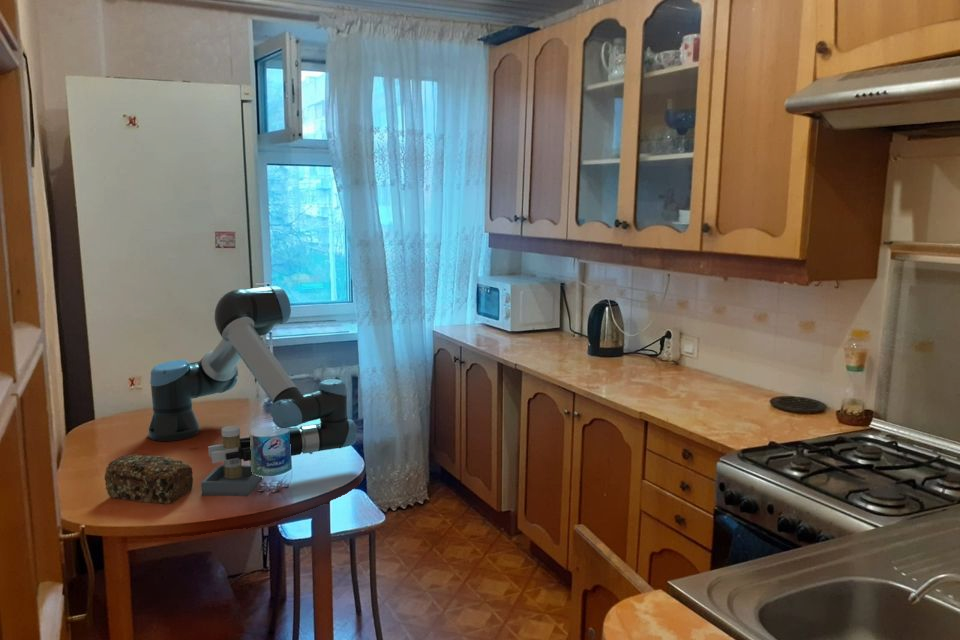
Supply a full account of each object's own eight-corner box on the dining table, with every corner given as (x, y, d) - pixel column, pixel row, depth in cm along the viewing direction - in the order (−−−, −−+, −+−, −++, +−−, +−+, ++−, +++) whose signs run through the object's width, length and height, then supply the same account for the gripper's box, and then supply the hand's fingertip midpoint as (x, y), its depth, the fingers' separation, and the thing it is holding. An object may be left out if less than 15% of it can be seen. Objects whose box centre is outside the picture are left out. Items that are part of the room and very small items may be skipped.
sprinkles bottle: (243, 472, 188) (240, 424, 186) (241, 478, 184) (239, 429, 181) (225, 474, 187) (222, 425, 185) (223, 480, 182) (220, 430, 180)
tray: (201, 495, 180) (201, 482, 179) (220, 477, 192) (219, 465, 191) (248, 495, 180) (247, 482, 179) (263, 477, 191) (263, 465, 191)
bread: (105, 499, 177) (101, 462, 176) (134, 483, 188) (131, 447, 186) (169, 506, 173) (166, 468, 172) (195, 490, 183) (193, 453, 182)
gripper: (309, 463, 186) (216, 479, 175) (292, 444, 201) (206, 458, 190) (308, 436, 185) (214, 450, 173) (291, 419, 200) (204, 431, 188)
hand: (210, 454), depth 182 cm, fingers closed on sprinkles bottle, 4 cm apart
